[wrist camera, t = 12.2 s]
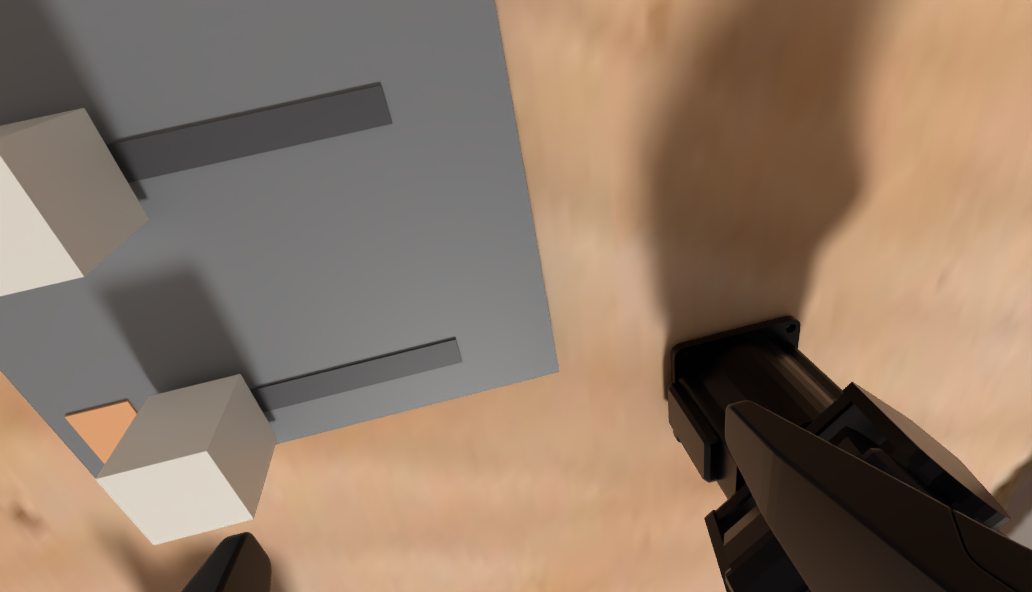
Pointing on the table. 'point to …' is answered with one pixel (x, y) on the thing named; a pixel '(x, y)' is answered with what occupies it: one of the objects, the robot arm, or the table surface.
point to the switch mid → (59, 201)
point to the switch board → (281, 211)
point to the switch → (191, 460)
